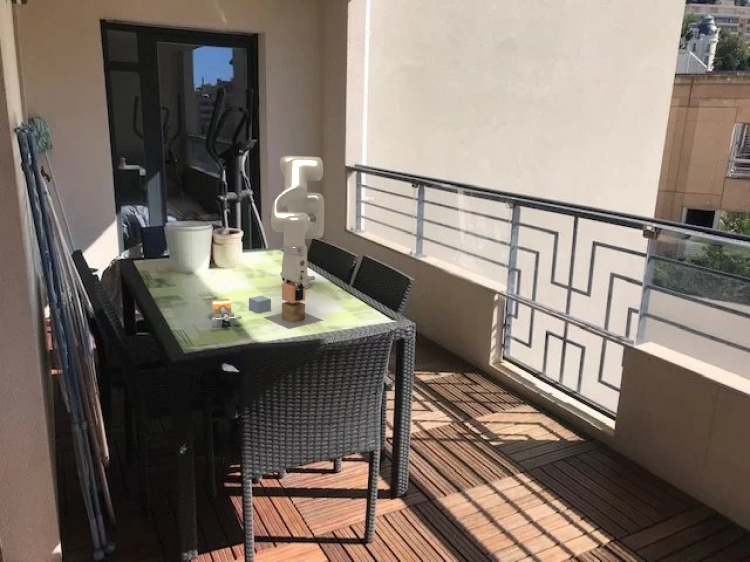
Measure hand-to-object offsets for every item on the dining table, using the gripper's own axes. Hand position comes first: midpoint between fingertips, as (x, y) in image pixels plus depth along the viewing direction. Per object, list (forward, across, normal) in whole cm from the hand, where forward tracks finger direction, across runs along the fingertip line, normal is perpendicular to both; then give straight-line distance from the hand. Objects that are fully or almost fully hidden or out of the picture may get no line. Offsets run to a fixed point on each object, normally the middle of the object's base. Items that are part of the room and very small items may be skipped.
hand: (293, 297), depth 229 cm
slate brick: (+10, +16, +4) cm, 19 cm away
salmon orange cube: (+1, 0, 0) cm, 1 cm away
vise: (+10, +15, +20) cm, 27 cm away
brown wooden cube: (+8, 0, 0) cm, 8 cm away
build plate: (+10, 0, 0) cm, 10 cm away
